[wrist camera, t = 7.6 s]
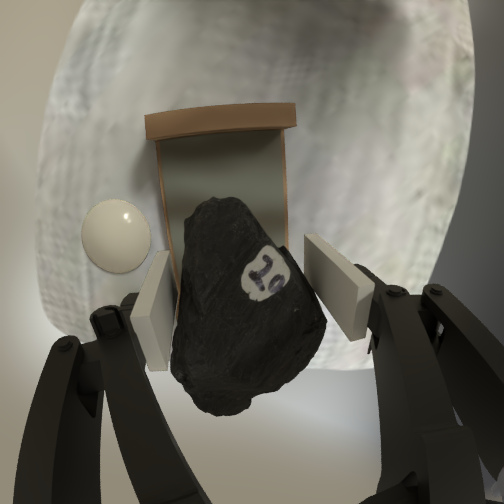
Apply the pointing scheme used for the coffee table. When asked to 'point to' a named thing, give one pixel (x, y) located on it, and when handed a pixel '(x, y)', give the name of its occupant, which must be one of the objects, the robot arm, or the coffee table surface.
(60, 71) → the coffee table surface
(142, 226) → the cream glossy rounded part
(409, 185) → the coffee table surface
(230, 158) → the rest
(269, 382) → the mineral
